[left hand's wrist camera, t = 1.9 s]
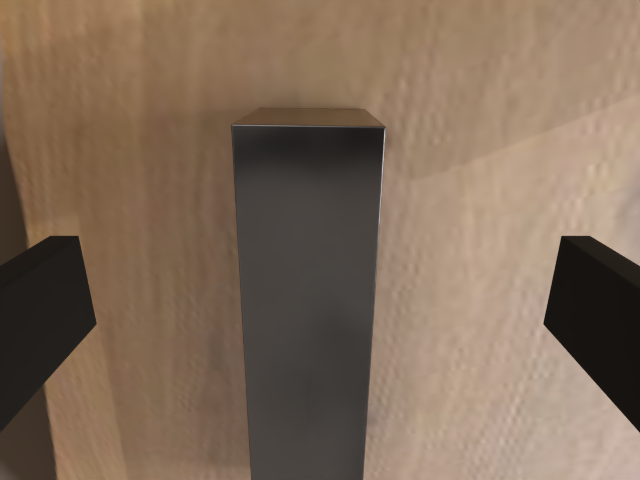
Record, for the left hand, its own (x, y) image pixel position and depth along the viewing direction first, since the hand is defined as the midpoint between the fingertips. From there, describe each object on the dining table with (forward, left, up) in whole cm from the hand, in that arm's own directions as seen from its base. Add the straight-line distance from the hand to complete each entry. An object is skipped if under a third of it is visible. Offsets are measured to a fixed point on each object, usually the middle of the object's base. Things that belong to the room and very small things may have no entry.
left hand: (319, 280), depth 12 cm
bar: (+9, +2, -13) cm, 16 cm away
